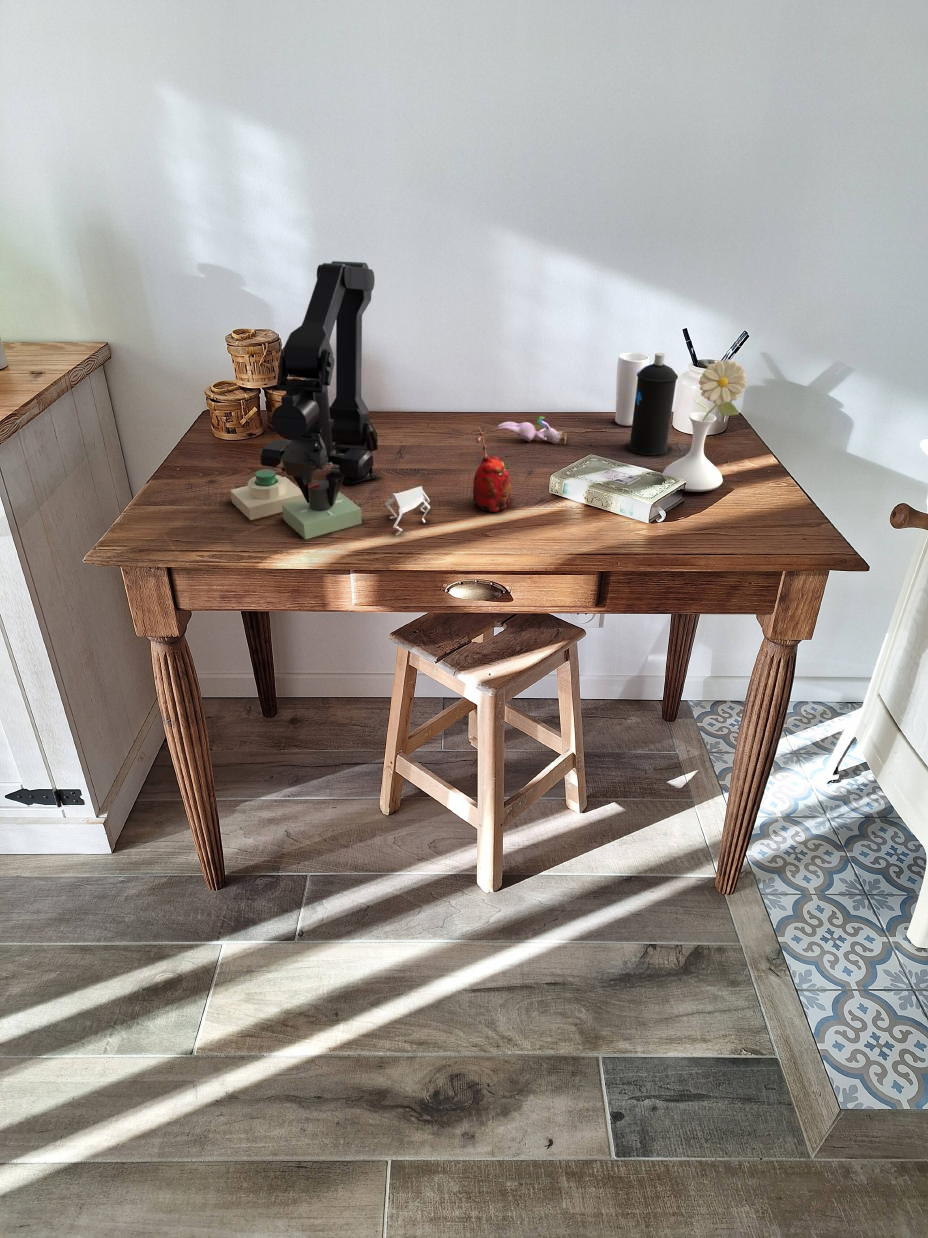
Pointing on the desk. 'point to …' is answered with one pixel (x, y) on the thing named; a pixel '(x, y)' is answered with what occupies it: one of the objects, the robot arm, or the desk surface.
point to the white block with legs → (408, 503)
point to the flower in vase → (721, 388)
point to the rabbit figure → (534, 431)
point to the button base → (265, 497)
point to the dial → (319, 495)
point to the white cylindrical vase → (627, 385)
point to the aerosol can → (653, 408)
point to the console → (321, 517)
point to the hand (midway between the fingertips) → (320, 503)
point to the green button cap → (265, 477)
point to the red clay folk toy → (491, 483)
